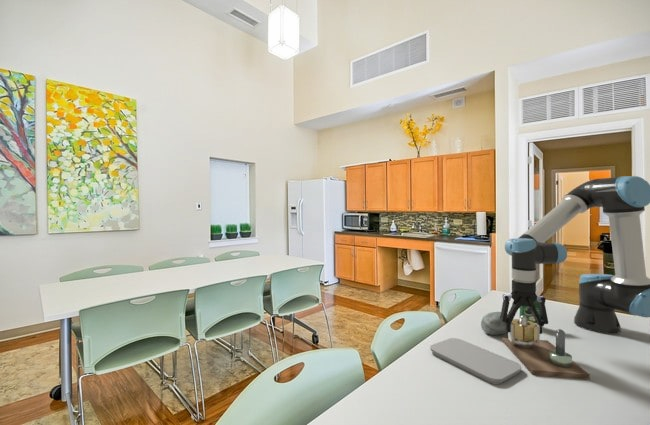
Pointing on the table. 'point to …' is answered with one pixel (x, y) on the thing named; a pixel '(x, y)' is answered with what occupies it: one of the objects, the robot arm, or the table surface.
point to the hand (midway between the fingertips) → (523, 341)
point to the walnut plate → (544, 361)
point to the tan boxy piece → (525, 330)
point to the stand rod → (523, 343)
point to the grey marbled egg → (493, 324)
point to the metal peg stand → (560, 352)
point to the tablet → (476, 360)
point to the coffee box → (529, 312)
